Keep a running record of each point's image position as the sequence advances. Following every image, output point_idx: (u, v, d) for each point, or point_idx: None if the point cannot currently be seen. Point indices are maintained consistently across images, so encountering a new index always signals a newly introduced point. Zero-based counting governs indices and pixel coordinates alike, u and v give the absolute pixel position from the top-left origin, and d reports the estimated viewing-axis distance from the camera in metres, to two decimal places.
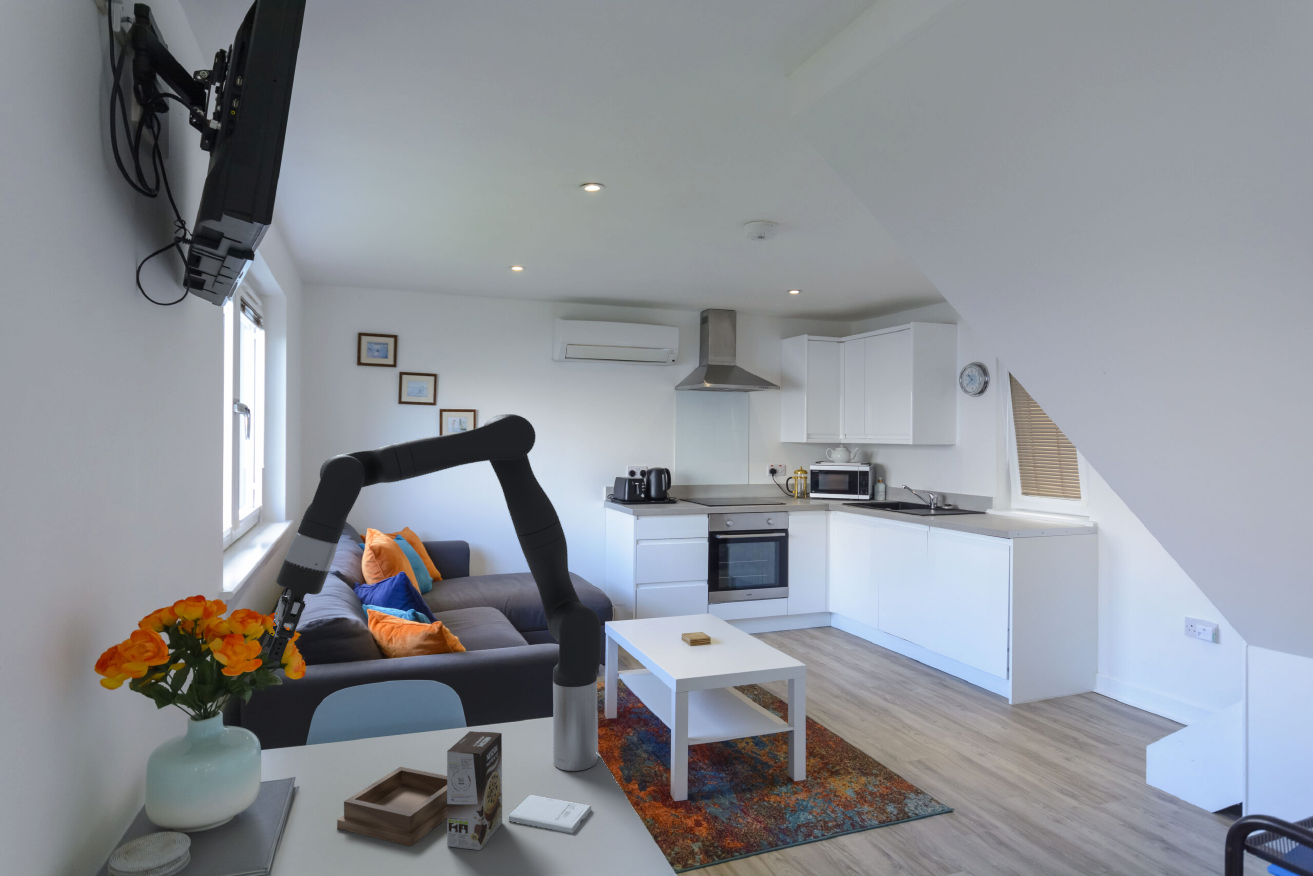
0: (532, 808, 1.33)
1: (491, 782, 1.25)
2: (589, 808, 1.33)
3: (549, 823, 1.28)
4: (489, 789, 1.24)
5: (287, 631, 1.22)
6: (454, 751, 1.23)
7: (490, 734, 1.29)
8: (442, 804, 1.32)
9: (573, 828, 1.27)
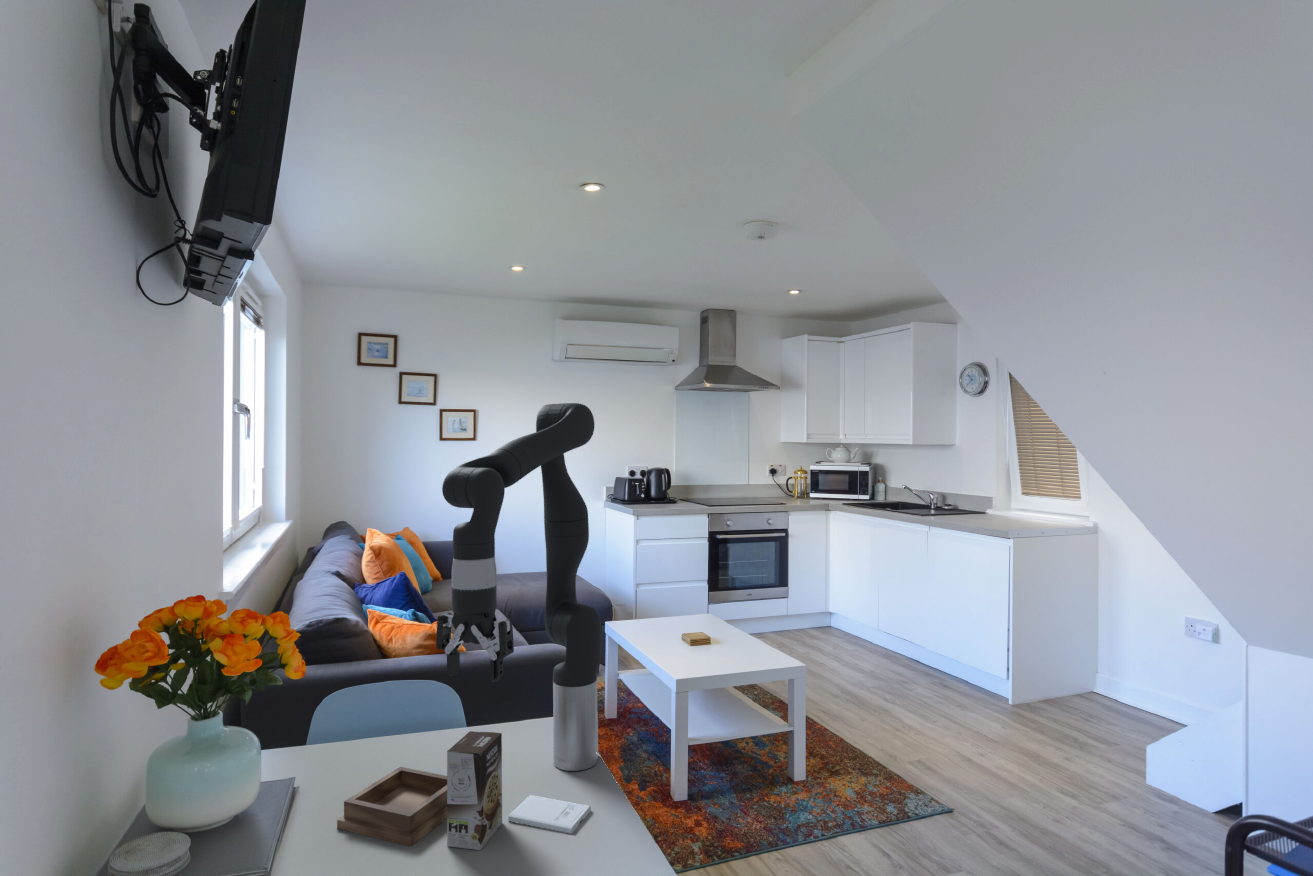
0: (531, 808, 1.33)
1: (491, 782, 1.25)
2: (589, 808, 1.33)
3: (549, 823, 1.28)
4: (489, 789, 1.24)
5: (509, 649, 1.24)
6: (454, 751, 1.23)
7: (490, 734, 1.29)
8: (442, 804, 1.32)
9: (572, 828, 1.27)
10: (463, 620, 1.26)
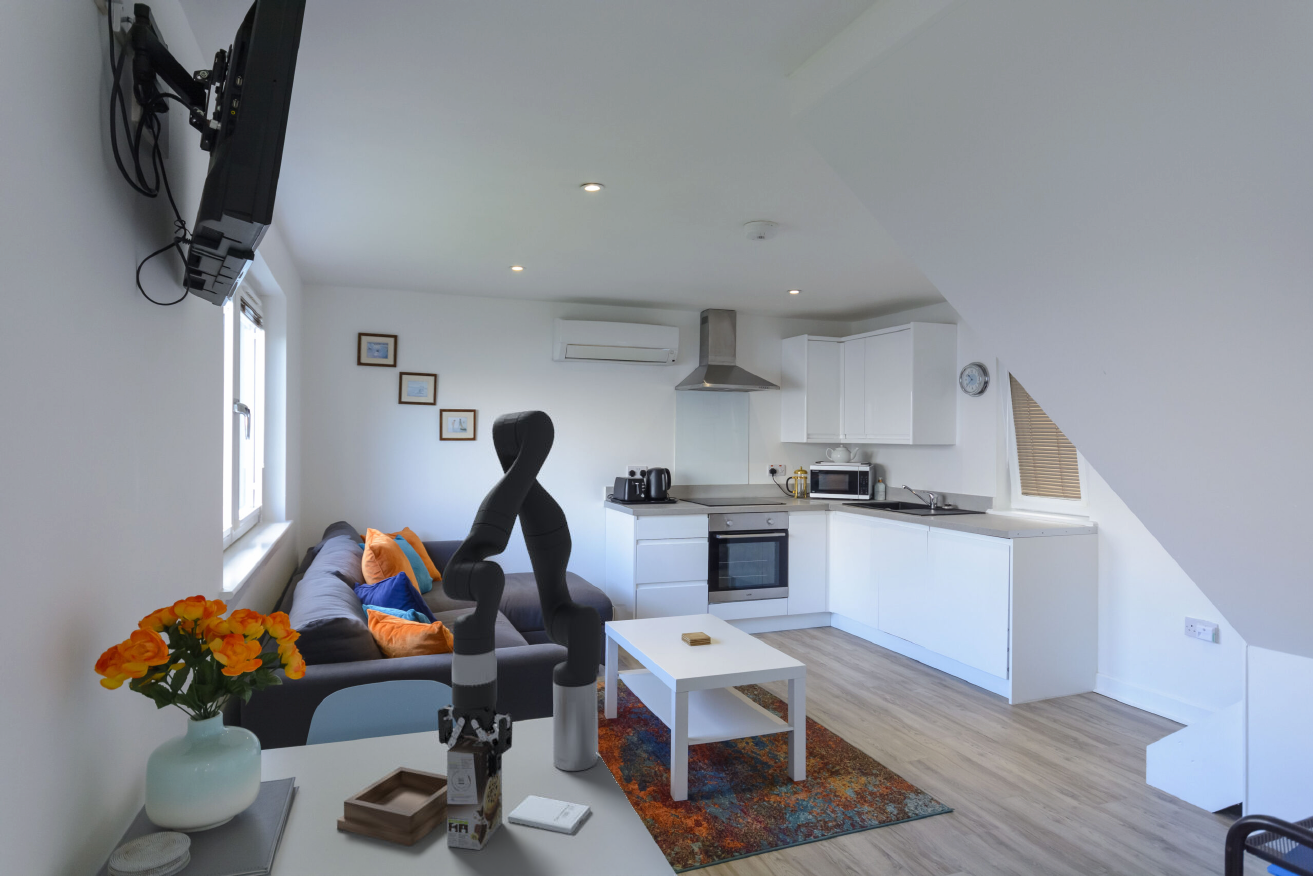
0: (531, 809, 1.33)
1: (491, 782, 1.25)
2: (588, 809, 1.33)
3: (548, 823, 1.28)
4: (489, 789, 1.24)
5: (506, 744, 1.24)
6: (455, 751, 1.23)
7: None
8: (442, 804, 1.32)
9: (572, 829, 1.27)
10: (463, 713, 1.26)
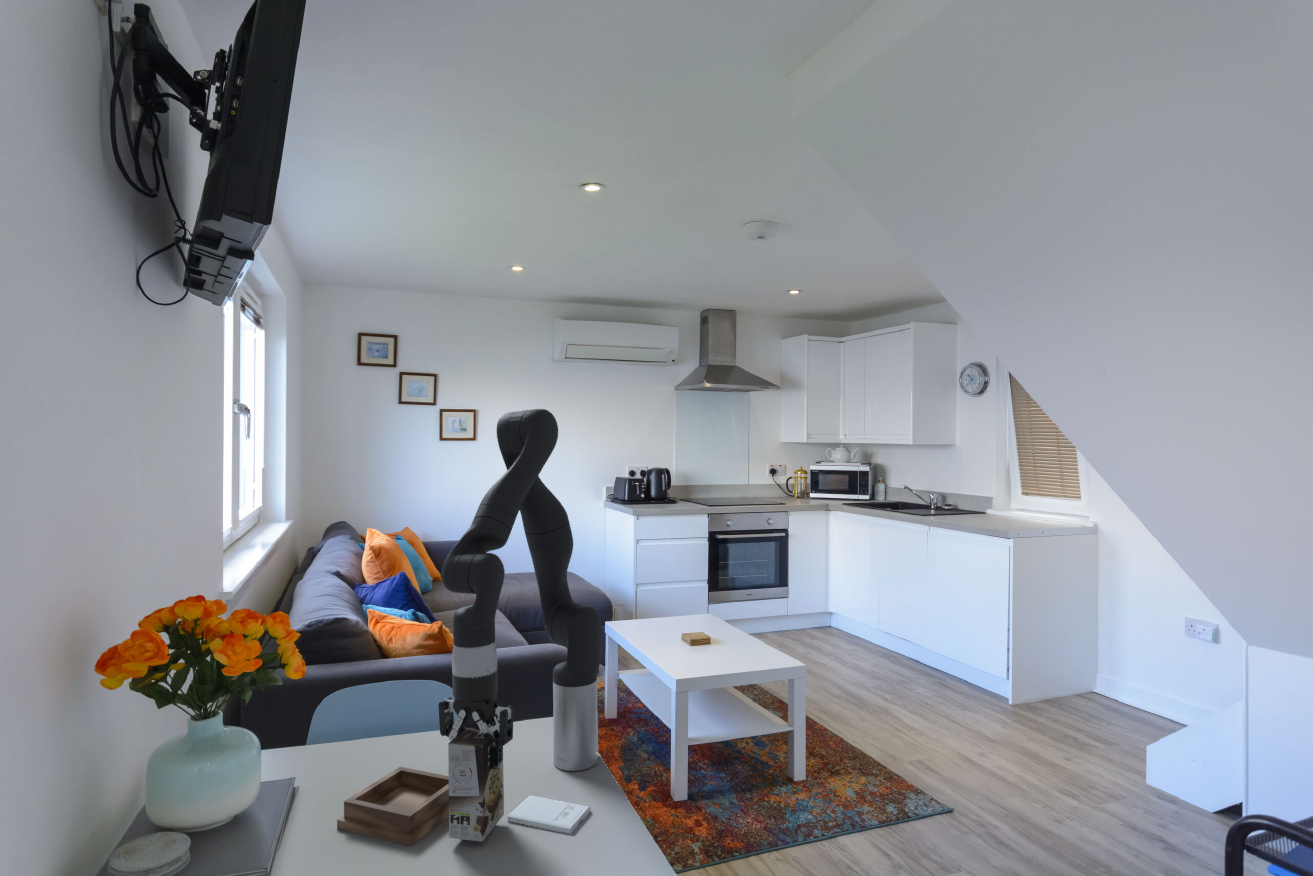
0: (531, 809, 1.33)
1: (493, 774, 1.25)
2: (588, 809, 1.33)
3: (548, 823, 1.28)
4: (490, 781, 1.24)
5: (508, 736, 1.24)
6: (456, 743, 1.23)
7: None
8: (442, 804, 1.32)
9: (571, 829, 1.27)
10: (464, 705, 1.26)
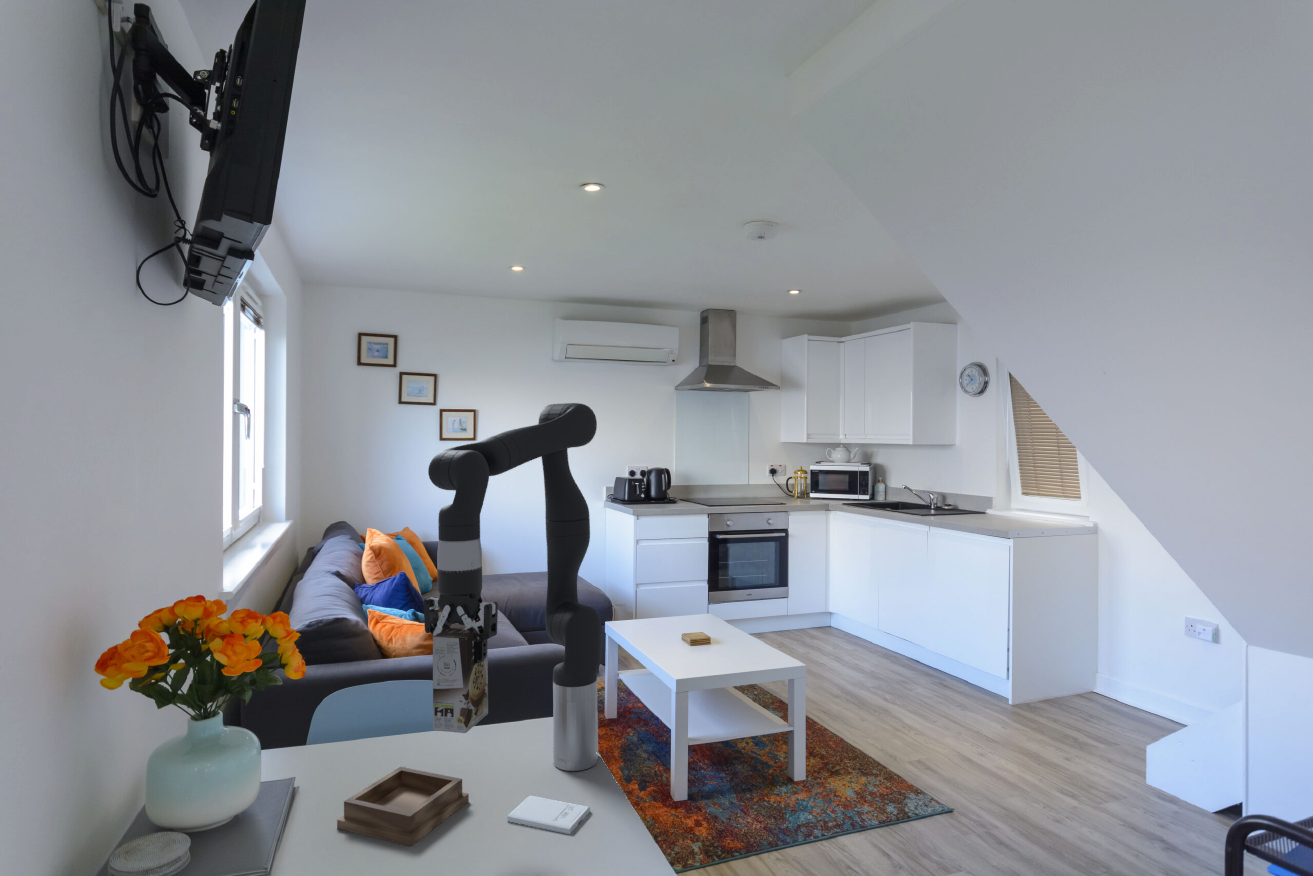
0: (530, 809, 1.33)
1: (477, 669, 1.26)
2: (588, 809, 1.33)
3: (547, 824, 1.28)
4: (474, 675, 1.25)
5: (492, 631, 1.25)
6: (440, 636, 1.24)
7: None
8: (442, 804, 1.32)
9: (571, 829, 1.27)
10: (449, 601, 1.27)
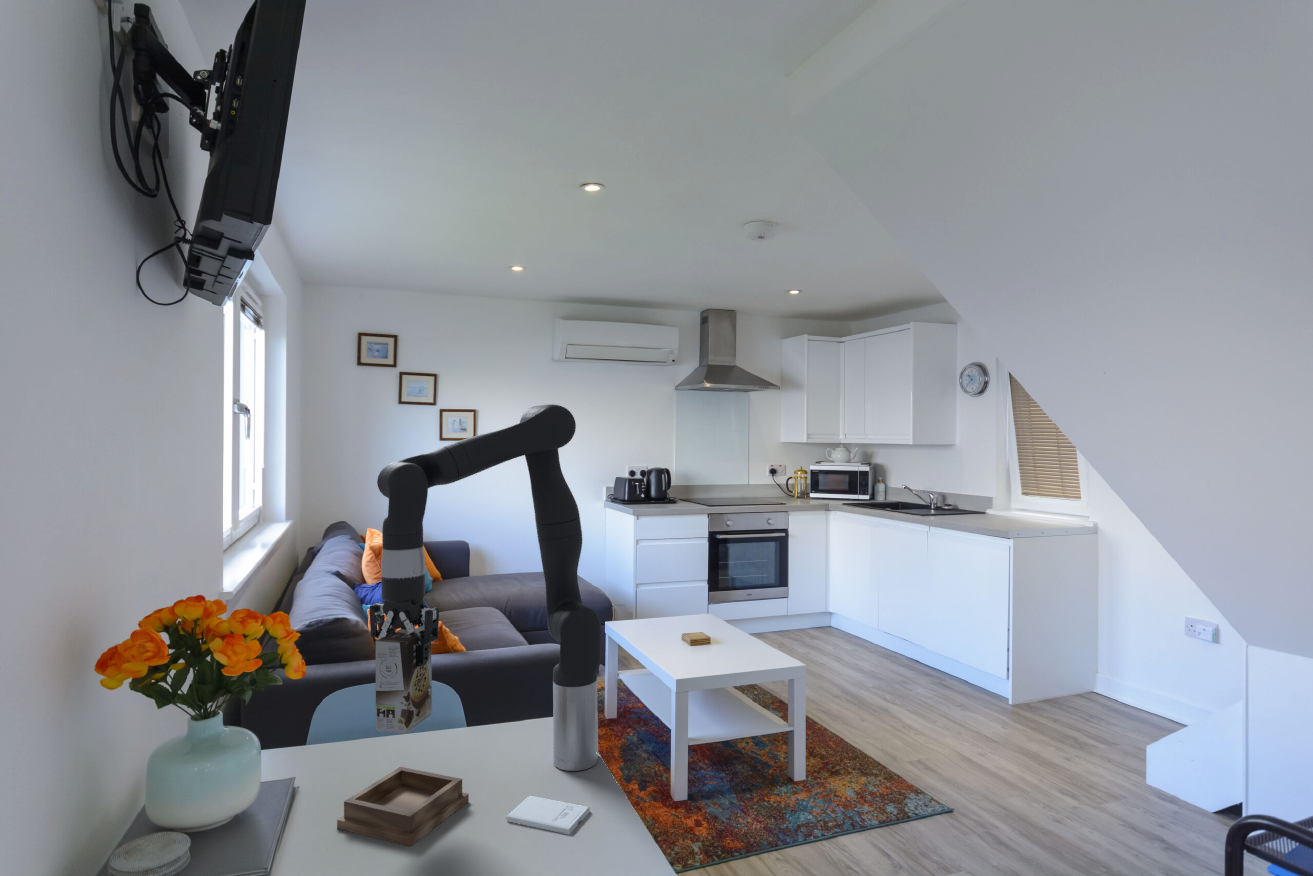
0: (530, 809, 1.33)
1: (419, 672, 1.32)
2: (587, 809, 1.33)
3: (547, 824, 1.28)
4: (416, 678, 1.31)
5: (433, 636, 1.31)
6: (382, 640, 1.29)
7: None
8: (442, 804, 1.32)
9: (570, 829, 1.27)
10: (393, 607, 1.32)
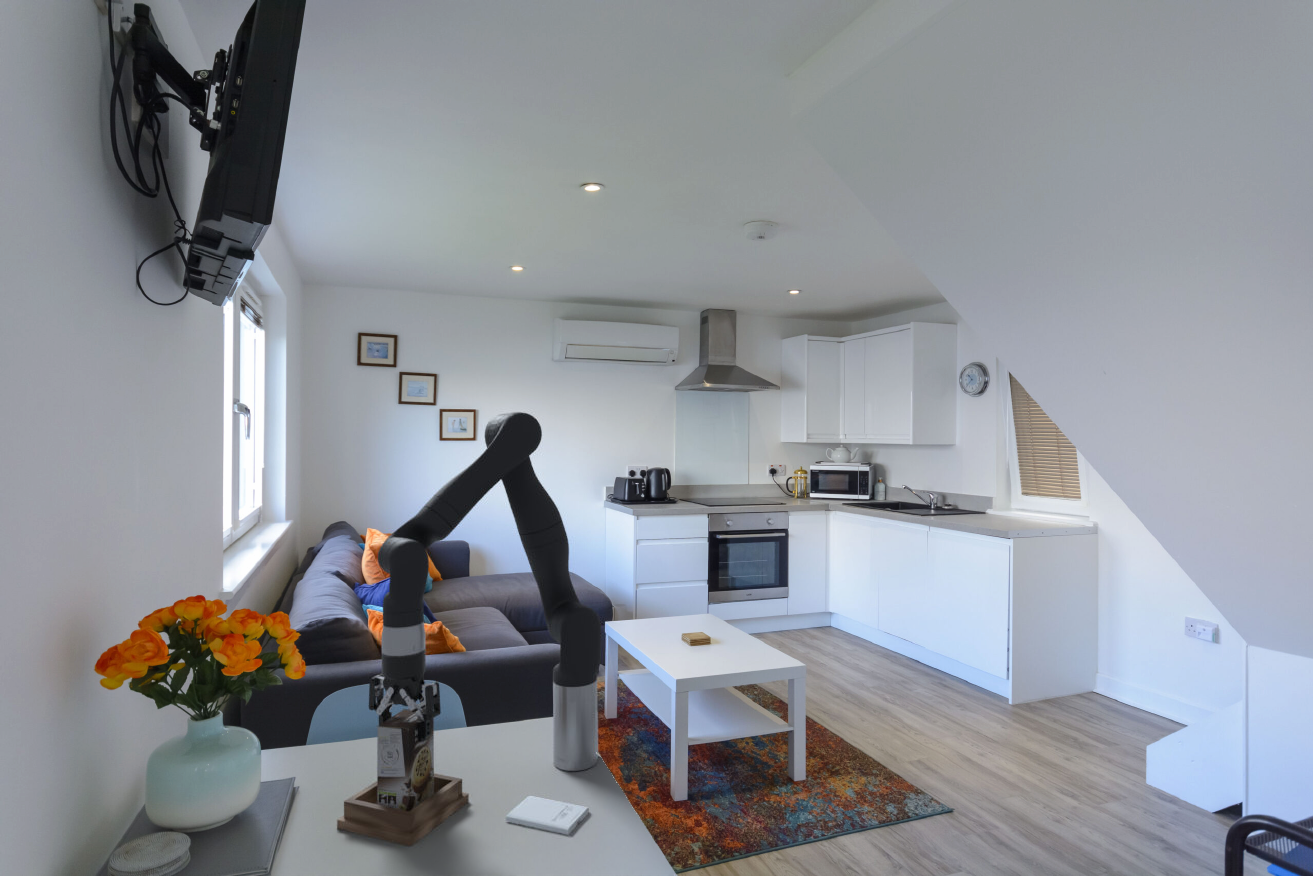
0: (529, 809, 1.33)
1: (420, 757, 1.32)
2: (587, 810, 1.33)
3: (546, 824, 1.28)
4: (417, 763, 1.31)
5: (435, 711, 1.31)
6: (384, 726, 1.29)
7: None
8: (442, 804, 1.32)
9: (569, 829, 1.26)
10: (393, 683, 1.32)
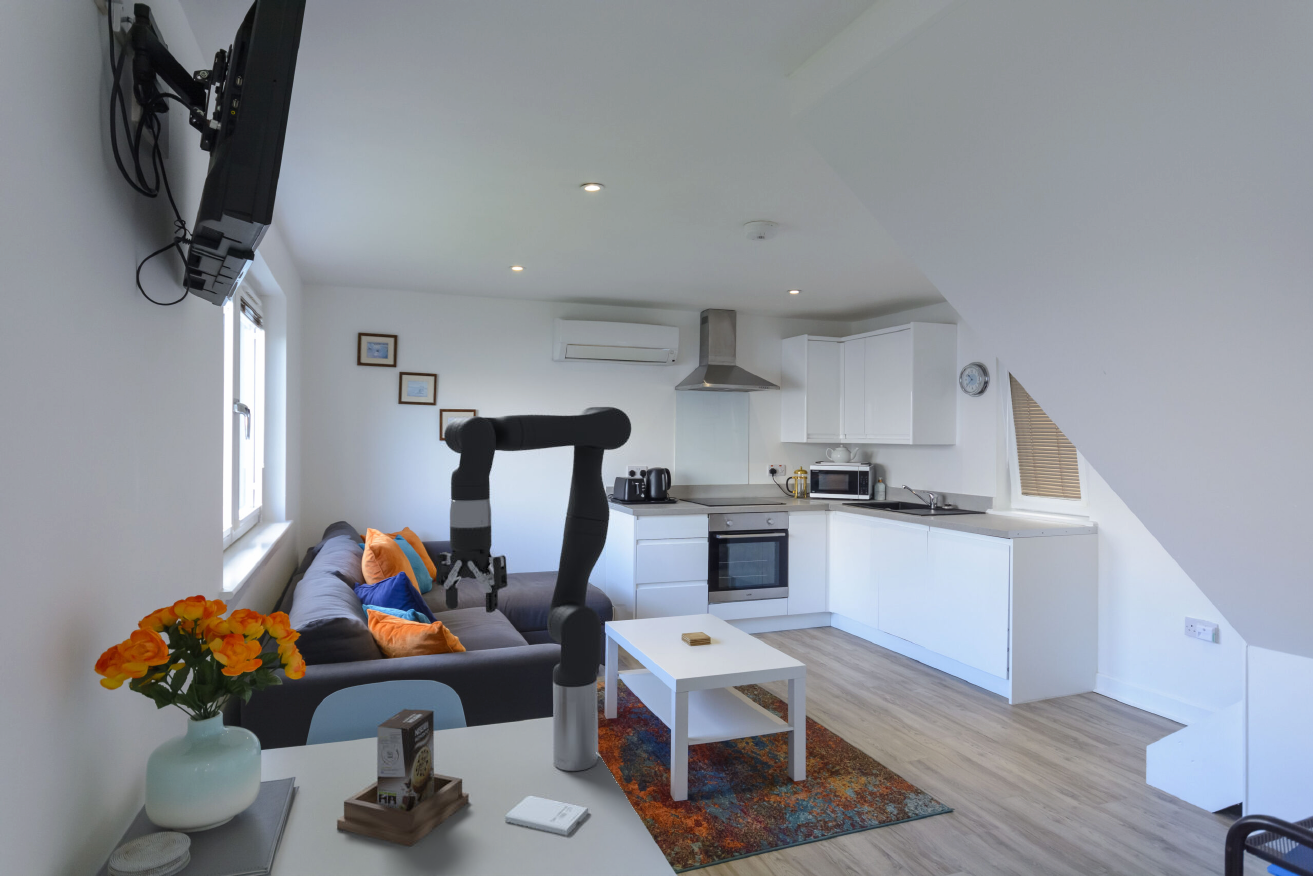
0: (529, 809, 1.33)
1: (420, 757, 1.32)
2: (586, 810, 1.33)
3: (544, 824, 1.28)
4: (417, 763, 1.31)
5: (502, 582, 1.35)
6: (384, 726, 1.29)
7: (422, 712, 1.36)
8: (442, 804, 1.32)
9: (568, 830, 1.26)
10: (460, 557, 1.37)
